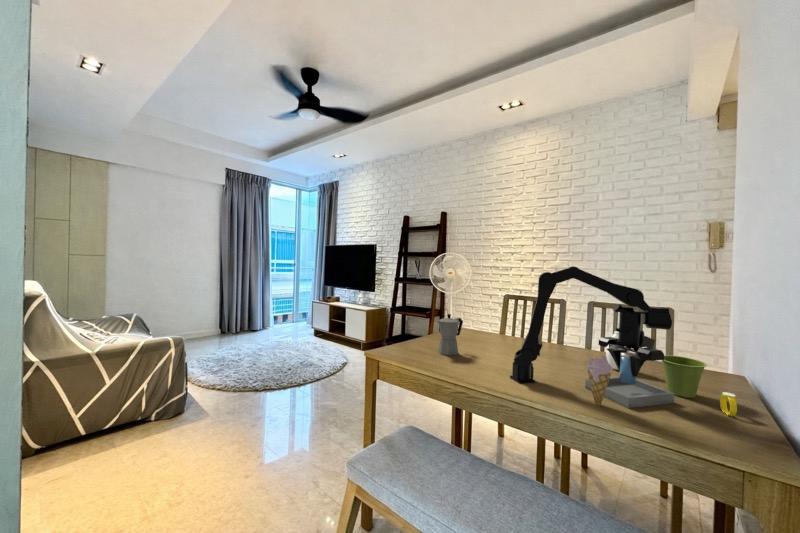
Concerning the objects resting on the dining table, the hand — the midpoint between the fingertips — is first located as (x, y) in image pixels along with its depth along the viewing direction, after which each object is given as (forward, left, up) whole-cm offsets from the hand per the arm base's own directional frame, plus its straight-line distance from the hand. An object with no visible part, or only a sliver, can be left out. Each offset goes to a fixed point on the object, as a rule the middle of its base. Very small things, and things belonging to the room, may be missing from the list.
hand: (627, 374), depth 108 cm
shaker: (0, 0, -3) cm, 3 cm away
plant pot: (+19, -3, -7) cm, 21 cm away
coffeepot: (-38, +57, -7) cm, 69 cm away
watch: (+17, -17, -7) cm, 25 cm away
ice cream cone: (-16, -4, -7) cm, 18 cm away
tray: (0, 0, -7) cm, 7 cm away
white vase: (+20, +22, -7) cm, 31 cm away
